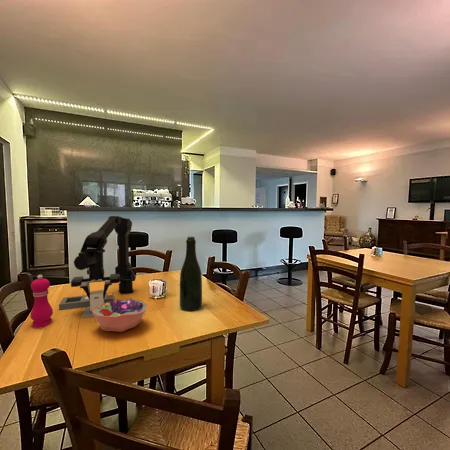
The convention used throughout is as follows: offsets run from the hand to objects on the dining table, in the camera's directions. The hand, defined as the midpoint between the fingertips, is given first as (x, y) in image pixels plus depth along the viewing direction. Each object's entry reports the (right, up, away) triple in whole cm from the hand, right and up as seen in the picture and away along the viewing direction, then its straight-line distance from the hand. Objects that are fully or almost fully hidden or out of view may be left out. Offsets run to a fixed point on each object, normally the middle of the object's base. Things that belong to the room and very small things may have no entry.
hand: (97, 299), depth 114 cm
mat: (0, -6, 0) cm, 6 cm away
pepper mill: (-16, -7, -12) cm, 21 cm away
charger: (0, -4, 0) cm, 4 cm away
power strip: (-8, -6, +9) cm, 14 cm away
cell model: (+16, -8, -14) cm, 22 cm away
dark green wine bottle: (+40, -6, +7) cm, 41 cm away
